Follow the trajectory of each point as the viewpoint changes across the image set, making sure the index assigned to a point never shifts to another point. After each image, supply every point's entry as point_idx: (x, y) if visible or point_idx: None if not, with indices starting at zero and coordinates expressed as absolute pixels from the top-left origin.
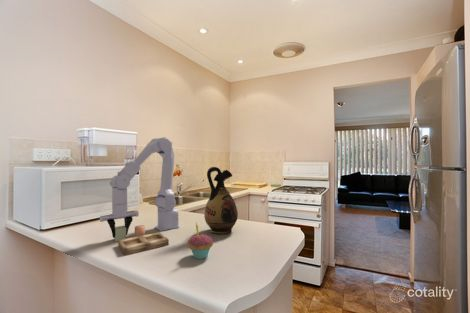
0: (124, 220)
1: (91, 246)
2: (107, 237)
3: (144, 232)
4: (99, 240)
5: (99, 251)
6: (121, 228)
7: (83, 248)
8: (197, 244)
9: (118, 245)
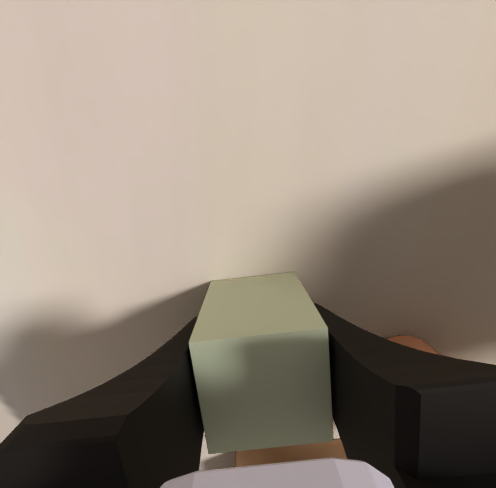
0: (368, 376)
1: (60, 372)
2: (157, 202)
3: None
4: (96, 257)
5: None
6: (277, 445)
7: (12, 386)
8: None
9: (236, 459)
